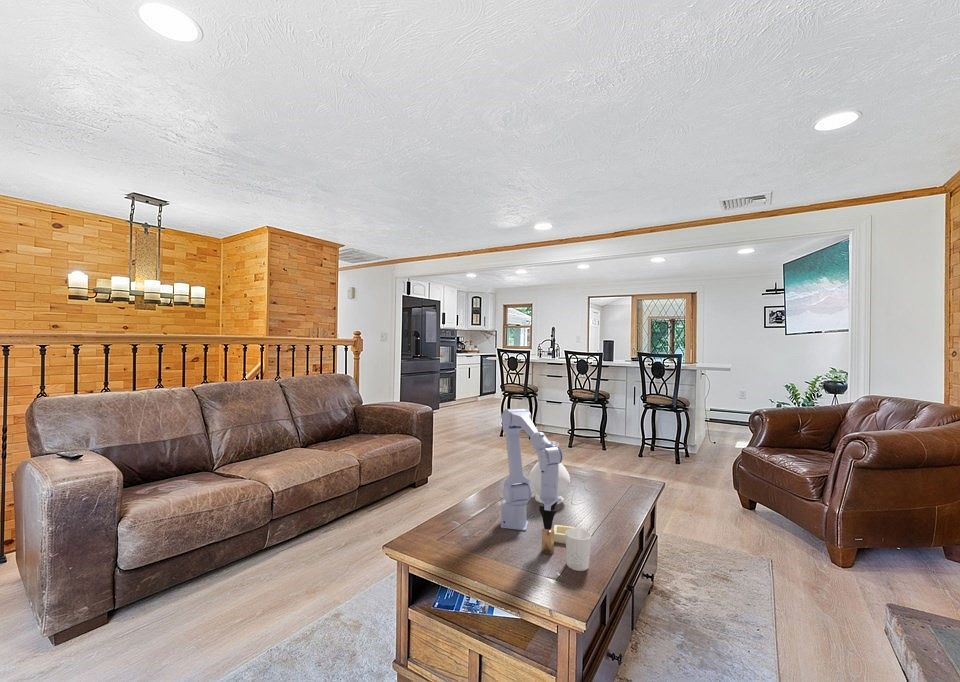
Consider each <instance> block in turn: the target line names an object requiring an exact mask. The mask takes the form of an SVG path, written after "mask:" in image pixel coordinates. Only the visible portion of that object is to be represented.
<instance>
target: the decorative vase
mask: <svg viewBox="0 0 960 682" xmlns="http://www.w3.org/2000/svg"><path fill="white" fill-rule="evenodd" d="M549 441H550V443H551V444H552V445H555V446H558V447H559V446H560V443H559V442H558V441H553V440H549ZM528 480H529V483H530V486H531V488H533V490H534V491H535V493H536V494H535V496H534V499H535V501H536V502H537V503H540V504H543V502H542V501H541V499H540V495H541V469H540V463H539V461H537V462H536V463H535V464H534V466H533V467H532V469H531V470H530V472H529V477H528ZM570 484H571V476H570V474H569V471H568V470H567V468H566V466H565V465H564V464H563V462H561V463H560V464H559V470H558V496H559V497H561V501H558V502H557V504H556V505H560V504H562V503H563V502H564V497H562V495H563V494H564V493H565V492H566V490H567V489H568V488H569V486H570Z"/></svg>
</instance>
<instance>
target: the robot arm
mask: <svg viewBox="0 0 960 682" xmlns="http://www.w3.org/2000/svg"><path fill="white" fill-rule="evenodd" d="M501 425H502V426H501V427H502V431H504V433H505V440H506V441H505V443H506V451H507V459H508V460H507V461H508V462H507V463H508V472H509V473H508V474H509V475H508V477H506V479H505V480H504V481H503V487H502V488H503V490H502V496H503V500H502V503H501V509H500V510H501V512H500V528H501V529H509V530H516V531H517V530H518V531H526V530H527V529H528V525H529V521H528V520H527V509H528V508H527V507H528V505H527V504H529V500H531V499H532V495H533V491H532V486H531V483H530V480H529V478H528V477H526V476H525V475H524V472H523V462H522V453H521V443H520V433H521V431H522V430H523V431H524V432H525V433H526V434H527V435H528V436H529V438H530V439H529V443H530V445H531V446H532V447H533V449H534V450H535V451H536V453H537V459H538V462H539V463H540V469H541V495H540V499H541V501H542V502H543V503H542V504H543V505H539V507H538V510H539V513H540V515H541V518H542V523H543V529H549V530H551V529H552V526H553V520H554V518H555V515H556V514H557V512H558V511H557V510H558V508H556V506H557V505H558V504H557V502H558V501H561V497H562V496H561V497H559V496H558V470H559V464H560V463H563V457H564V456H563V452H562V450H561V448H560V447H559V446H555V445H552V444H551V443H550V441H551V440H549V439H548V437H547V436H546V435H545V433H544V432H542V431H539V430H538V429H537V427H536V426H535V424H534V422H533V420H532V414H531V412H530V410H529V409H528V408H527V407H524V408H505V409H503V412H502V414H501Z"/></svg>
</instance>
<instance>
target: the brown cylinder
mask: <svg viewBox="0 0 960 682" xmlns="http://www.w3.org/2000/svg"><path fill="white" fill-rule="evenodd" d="M541 552H542V554H544V555H549V556H550V555H554V554H555V542H554V528H551V530H549V529H544V528H542V529H541Z"/></svg>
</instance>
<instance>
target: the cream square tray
mask: <svg viewBox="0 0 960 682" xmlns="http://www.w3.org/2000/svg"><path fill="white" fill-rule="evenodd" d="M573 528H576V527H575V526H570V525H569V526H567V525H560V524H554V525H553V530H554V543H557V544H565V545H566V531H567V530H568V529H573Z"/></svg>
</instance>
